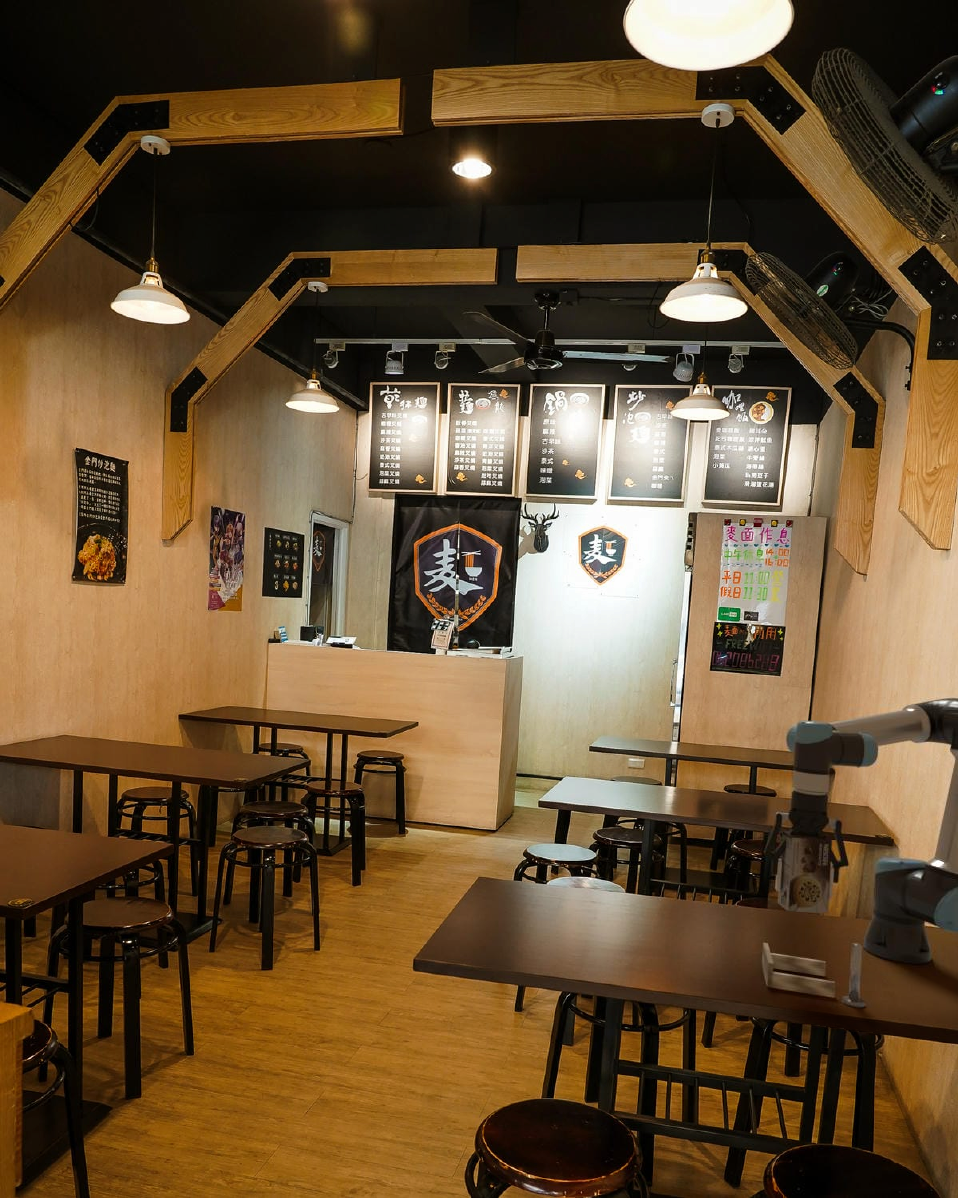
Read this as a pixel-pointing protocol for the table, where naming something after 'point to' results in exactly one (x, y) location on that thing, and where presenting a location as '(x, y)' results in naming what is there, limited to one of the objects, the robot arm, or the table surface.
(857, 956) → the post
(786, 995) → the table surface
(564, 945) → the table surface
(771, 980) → the bay
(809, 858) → the coffee box
